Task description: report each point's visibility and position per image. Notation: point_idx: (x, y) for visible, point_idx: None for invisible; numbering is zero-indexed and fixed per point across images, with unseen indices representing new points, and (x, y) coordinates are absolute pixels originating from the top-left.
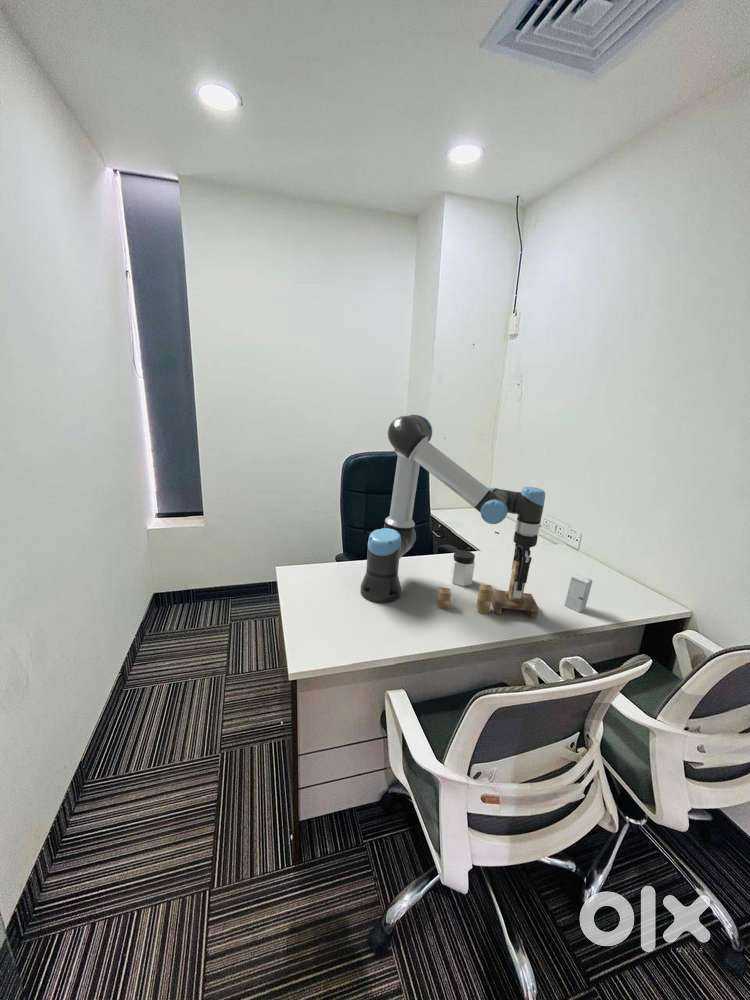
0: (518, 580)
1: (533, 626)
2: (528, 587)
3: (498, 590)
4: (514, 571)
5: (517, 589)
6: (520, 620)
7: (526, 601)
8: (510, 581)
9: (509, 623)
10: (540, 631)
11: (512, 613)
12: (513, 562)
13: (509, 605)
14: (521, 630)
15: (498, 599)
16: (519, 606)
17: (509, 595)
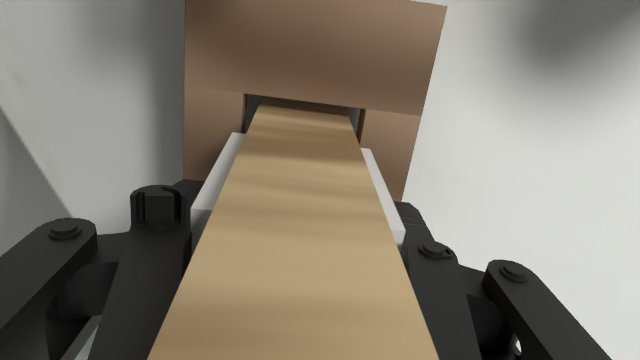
0: (52, 227)
1: (119, 191)
2: (569, 309)
3: (427, 60)
4: (243, 253)
5: (174, 184)
6: (170, 136)
7: None
8: (357, 167)
9: (112, 48)
10: (74, 211)
11: (249, 112)
12: (557, 341)
13: (186, 81)
14: (47, 103)
15: (257, 4)
16: (186, 157)
17: (299, 120)
